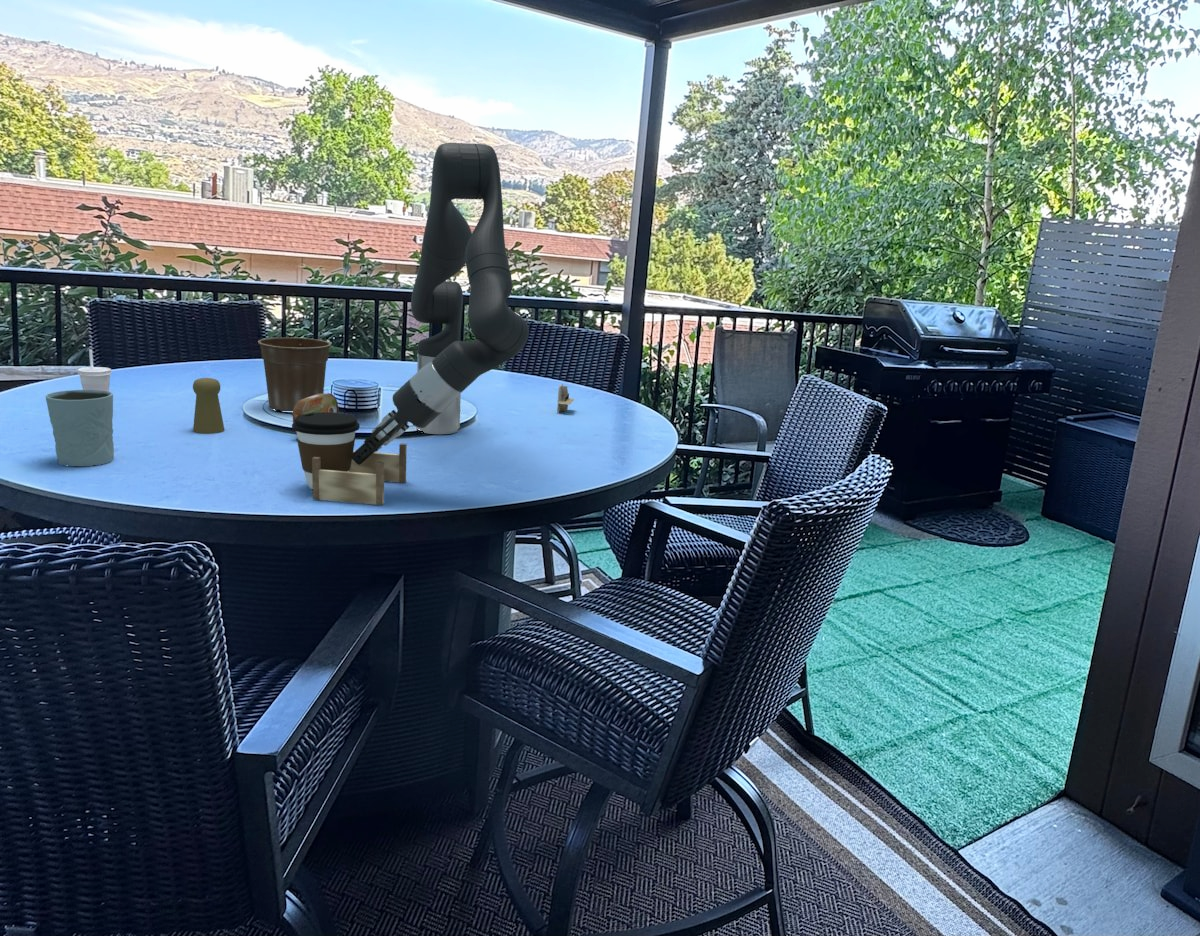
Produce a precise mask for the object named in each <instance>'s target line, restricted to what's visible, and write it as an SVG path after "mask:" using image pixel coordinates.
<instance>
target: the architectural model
mask: <svg viewBox="0 0 1200 936" xmlns="http://www.w3.org/2000/svg"><path fill="white" fill-rule="evenodd" d="M557 388H558V391H557V407H556V414H559V413H560V412H567V411H569V406H570V405H571V404H572V403H573V402H574V401H575V398H570V393H569V390H568V385H567V386H566V385H564V383H562V384H560V385H559V386H558V387H557Z"/></svg>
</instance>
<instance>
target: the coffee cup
mask: <svg viewBox="0 0 1200 936" xmlns="http://www.w3.org/2000/svg"><path fill="white" fill-rule="evenodd" d="M294 421H295V422H294V423H293V422H292V424H291V428H292V430H295V431H296V432H297V434H296V435H297V438H296V441H297V446H298V452H299V457H300V462H301V468H302V471H304V478H305V483H306V485H307V486H308V488H309V489H310V490H312V489H313V482H312V458H313V457H320V460H321V469H323V470H335V471H347V472H349V470H350V468H351V462H352V458H351V455H352V454H353V450H354V448H355V442H356V441H355V440H356V437H355V436H356V435H355V434H356V431H359V429H360V423H359V422H358V418H356V417H355V416H354V415H351V414H349V413H340V412H339V413H331V412H320V413H308V414H303V415H300V416H297V417H296V418H295V420H294ZM295 431H294V432H295Z"/></svg>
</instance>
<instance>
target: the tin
mask: <svg viewBox="0 0 1200 936" xmlns="http://www.w3.org/2000/svg"><path fill="white" fill-rule="evenodd" d="M339 409H340V407H339V403H338V400H337V398H336V397H335V395H334V394H332V393H324V394H316V395H313V396H311V397H308V398H304V399H301V400H299V401H298V402H297V403H296V405H295V407H294V409H293V413H292V424H293V423H294V422H295V421H294V420H295V418H296V417H297V416H300V415H303V414H308V413H320V412H331V413H340V411H339ZM293 430H294V429H293ZM294 432H295V435H297V432H296V431H295V430H294Z"/></svg>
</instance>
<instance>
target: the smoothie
mask: <svg viewBox="0 0 1200 936" xmlns="http://www.w3.org/2000/svg"><path fill="white" fill-rule="evenodd" d="M88 353H89V354H88V355H89V366H87V367H80V368H78V369H77V375H78V376H79V379H80V384H81V387H82V388H81V389H82V390H100V391H107V392H110V385H111V384H110V383H111V382H110V381H111V375H112V374H113V373H112V368H109V367H104V366H94V360H93V359H94V358H93V349H92V348H90V349H88Z"/></svg>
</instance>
